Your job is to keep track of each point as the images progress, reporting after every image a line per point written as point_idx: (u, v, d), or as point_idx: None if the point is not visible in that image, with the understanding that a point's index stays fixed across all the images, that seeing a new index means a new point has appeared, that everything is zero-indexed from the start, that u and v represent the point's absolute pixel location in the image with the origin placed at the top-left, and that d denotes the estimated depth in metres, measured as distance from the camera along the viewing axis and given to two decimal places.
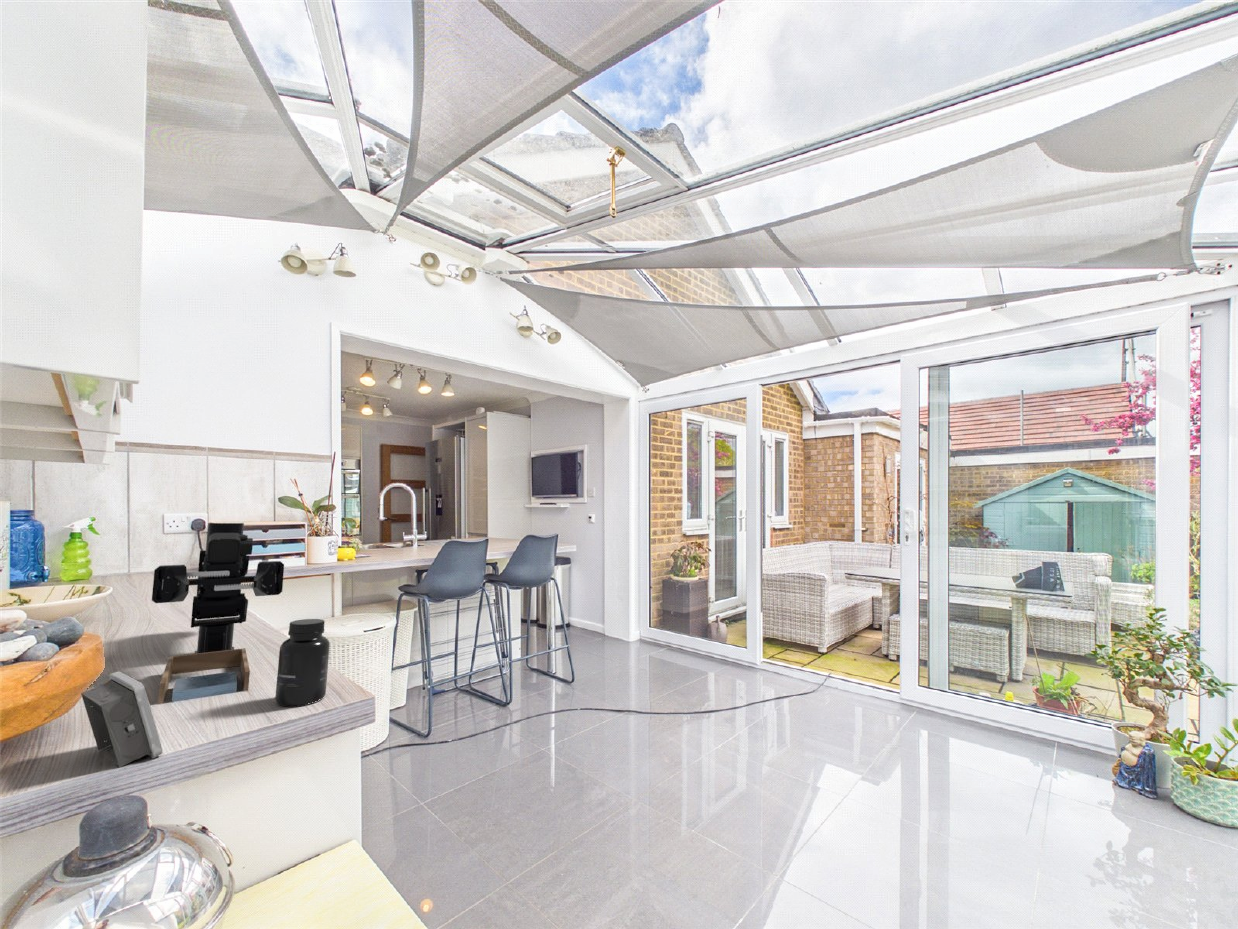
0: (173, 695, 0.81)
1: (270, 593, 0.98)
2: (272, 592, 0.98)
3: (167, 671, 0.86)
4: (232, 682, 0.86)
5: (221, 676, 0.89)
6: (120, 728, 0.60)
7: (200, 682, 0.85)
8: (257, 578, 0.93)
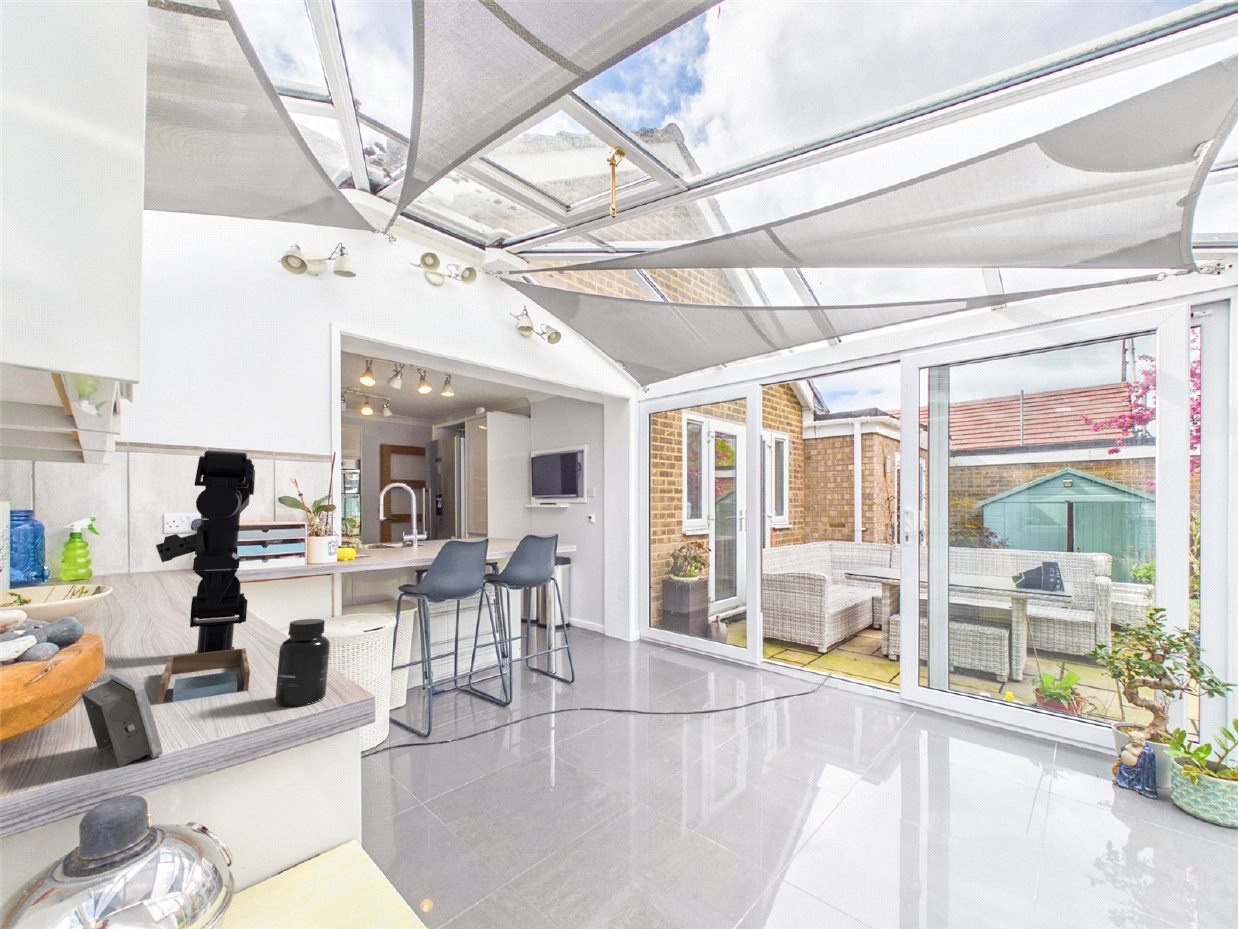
0: (174, 695, 0.81)
1: (234, 572, 0.93)
2: None
3: (167, 671, 0.86)
4: (232, 682, 0.86)
5: (221, 676, 0.89)
6: (120, 728, 0.60)
7: (200, 682, 0.85)
8: (207, 600, 0.92)
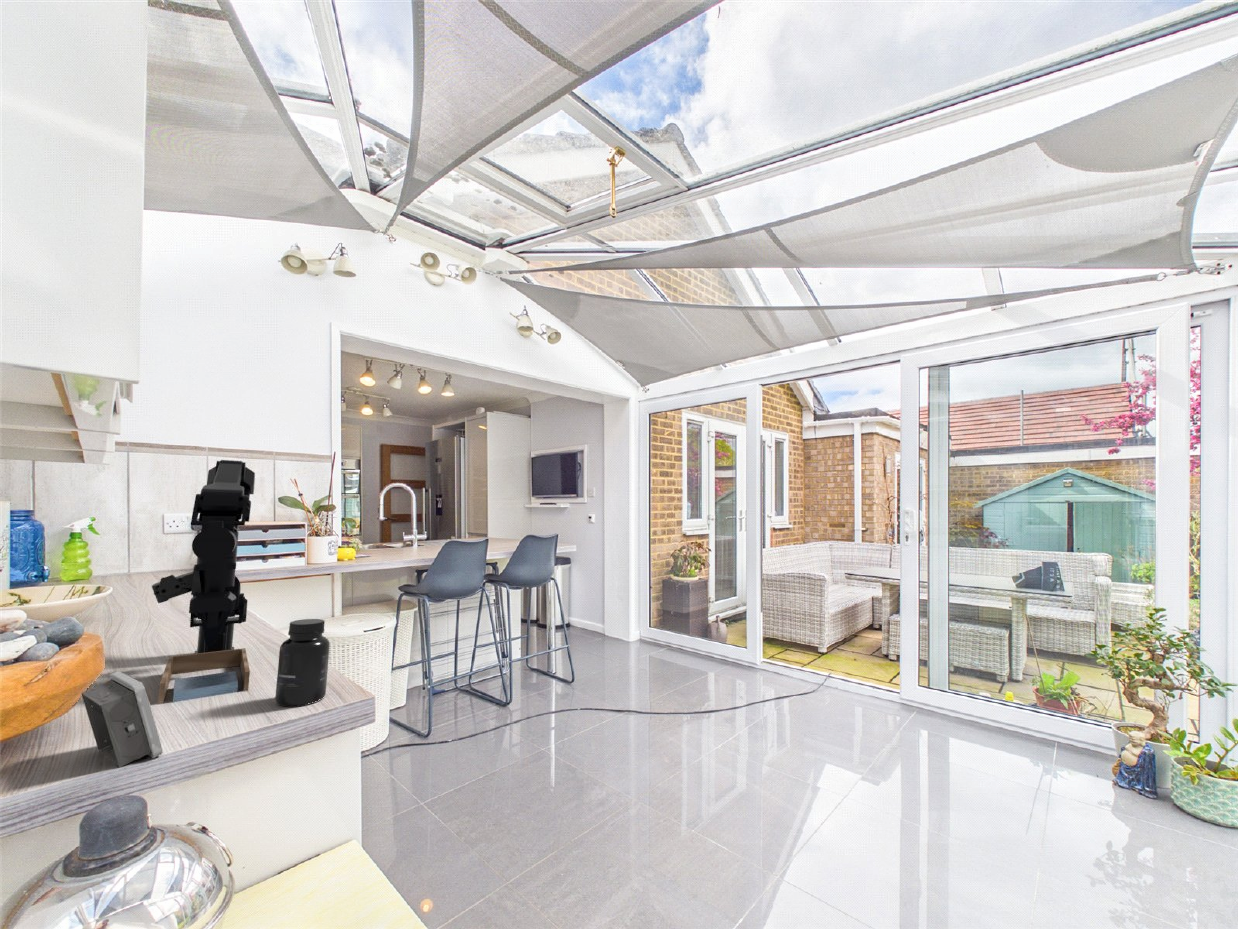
0: (174, 695, 0.81)
1: (230, 609, 0.94)
2: (229, 610, 0.94)
3: (167, 671, 0.86)
4: (233, 682, 0.86)
5: (221, 676, 0.89)
6: (120, 728, 0.60)
7: (200, 682, 0.85)
8: (204, 638, 0.94)
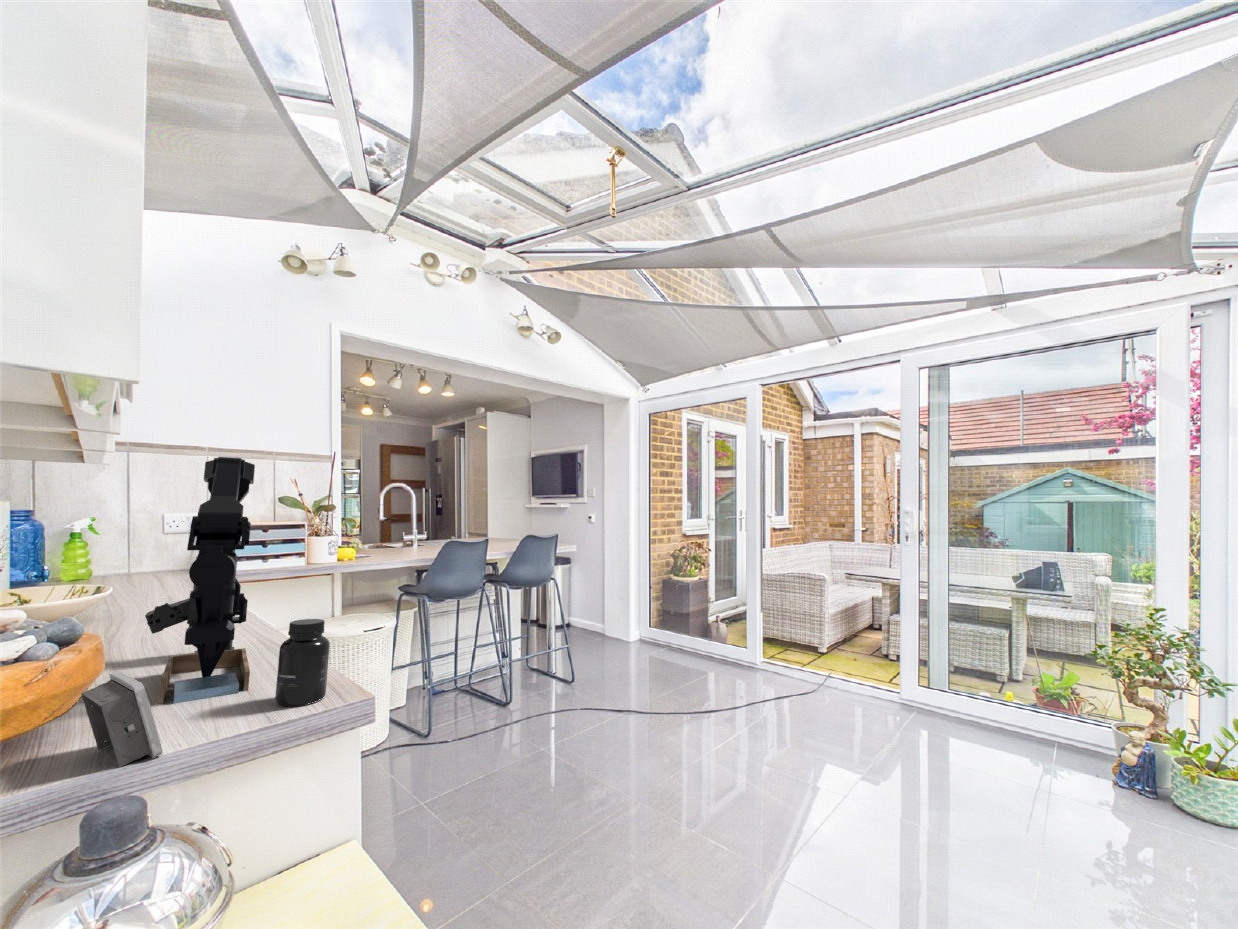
0: (175, 697, 0.80)
1: None
2: None
3: (167, 671, 0.86)
4: (234, 683, 0.85)
5: (221, 678, 0.88)
6: (120, 728, 0.60)
7: (201, 684, 0.85)
8: (201, 669, 0.88)
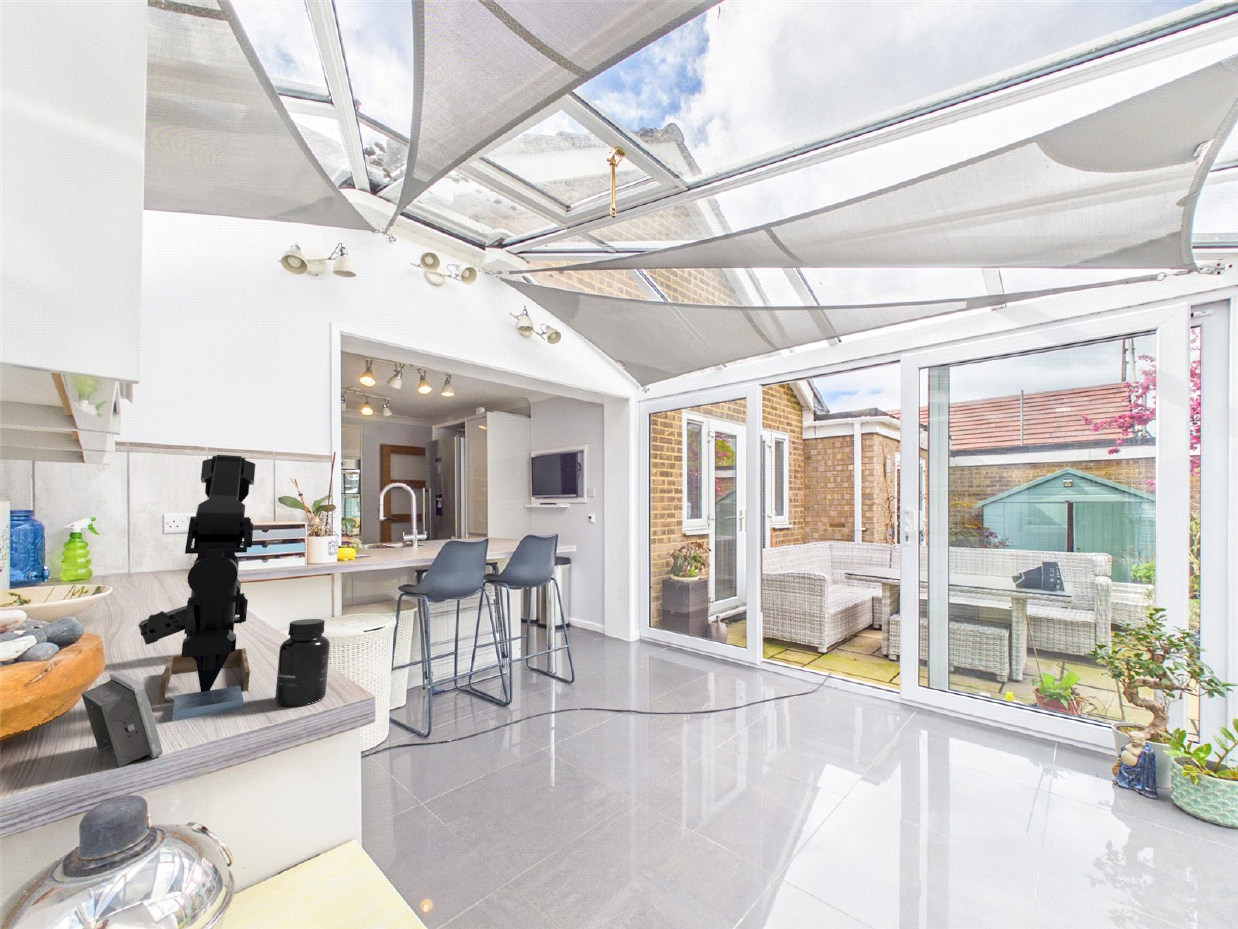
0: (173, 714, 0.73)
1: None
2: None
3: (167, 671, 0.86)
4: (238, 699, 0.78)
5: (225, 692, 0.81)
6: (120, 728, 0.60)
7: (202, 699, 0.78)
8: (199, 682, 0.81)
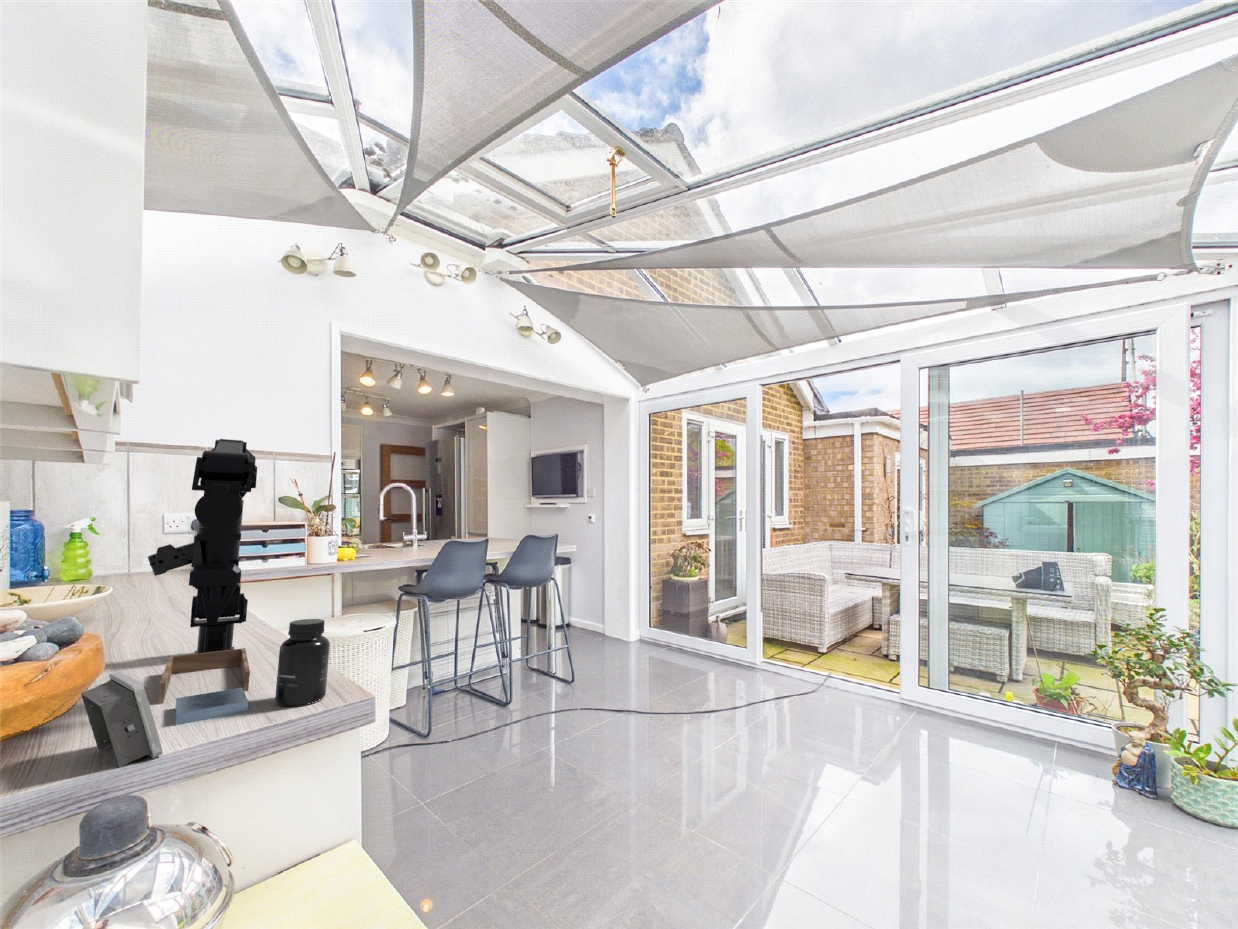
0: (177, 717, 0.72)
1: (235, 584, 0.85)
2: (234, 584, 0.85)
3: (167, 671, 0.86)
4: (242, 701, 0.77)
5: (228, 694, 0.80)
6: (120, 728, 0.60)
7: (206, 701, 0.77)
8: (205, 615, 0.85)
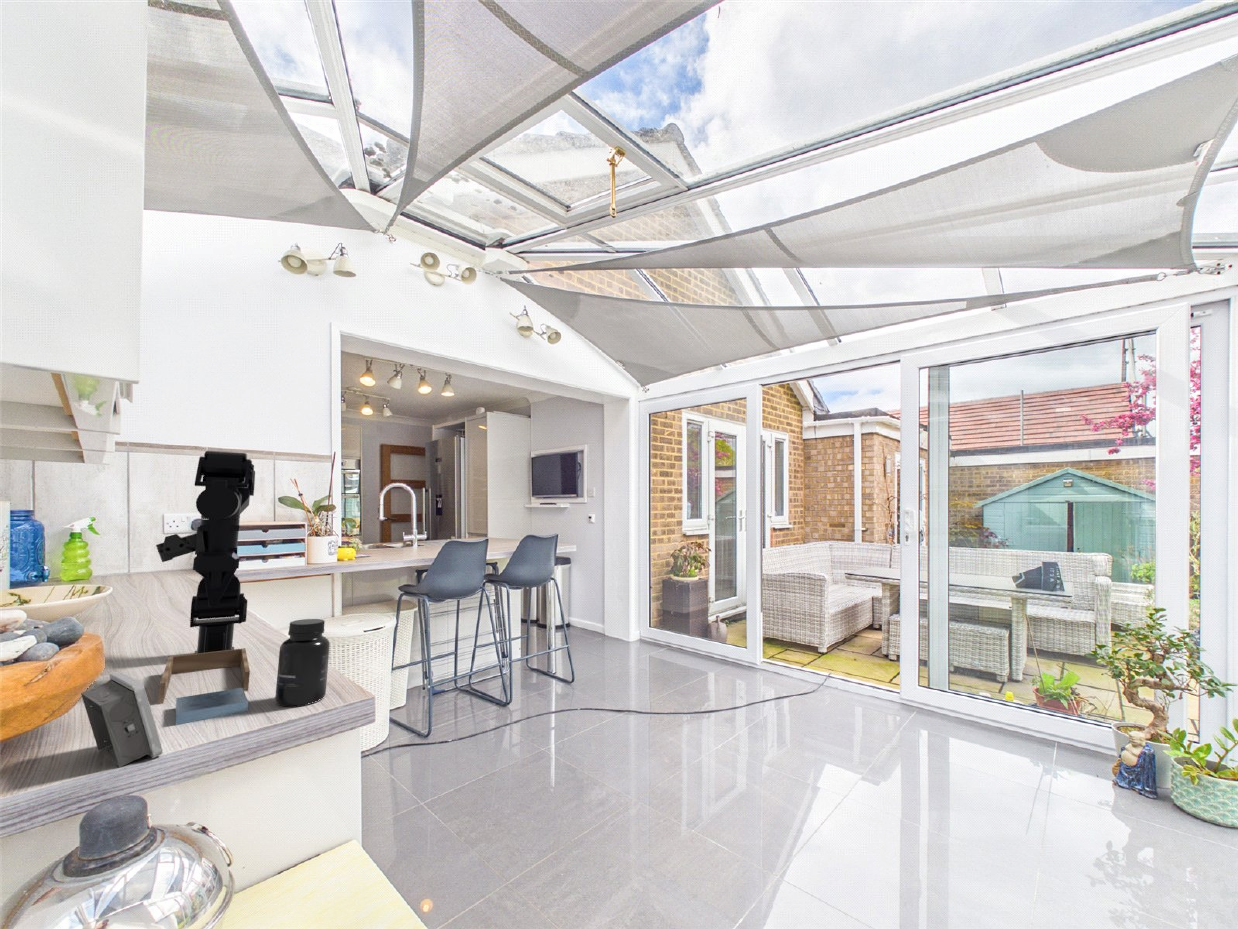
0: (177, 717, 0.72)
1: (234, 570, 0.95)
2: (233, 570, 0.95)
3: (167, 671, 0.86)
4: (242, 701, 0.77)
5: (228, 694, 0.80)
6: (120, 728, 0.60)
7: (206, 701, 0.77)
8: (207, 598, 0.95)
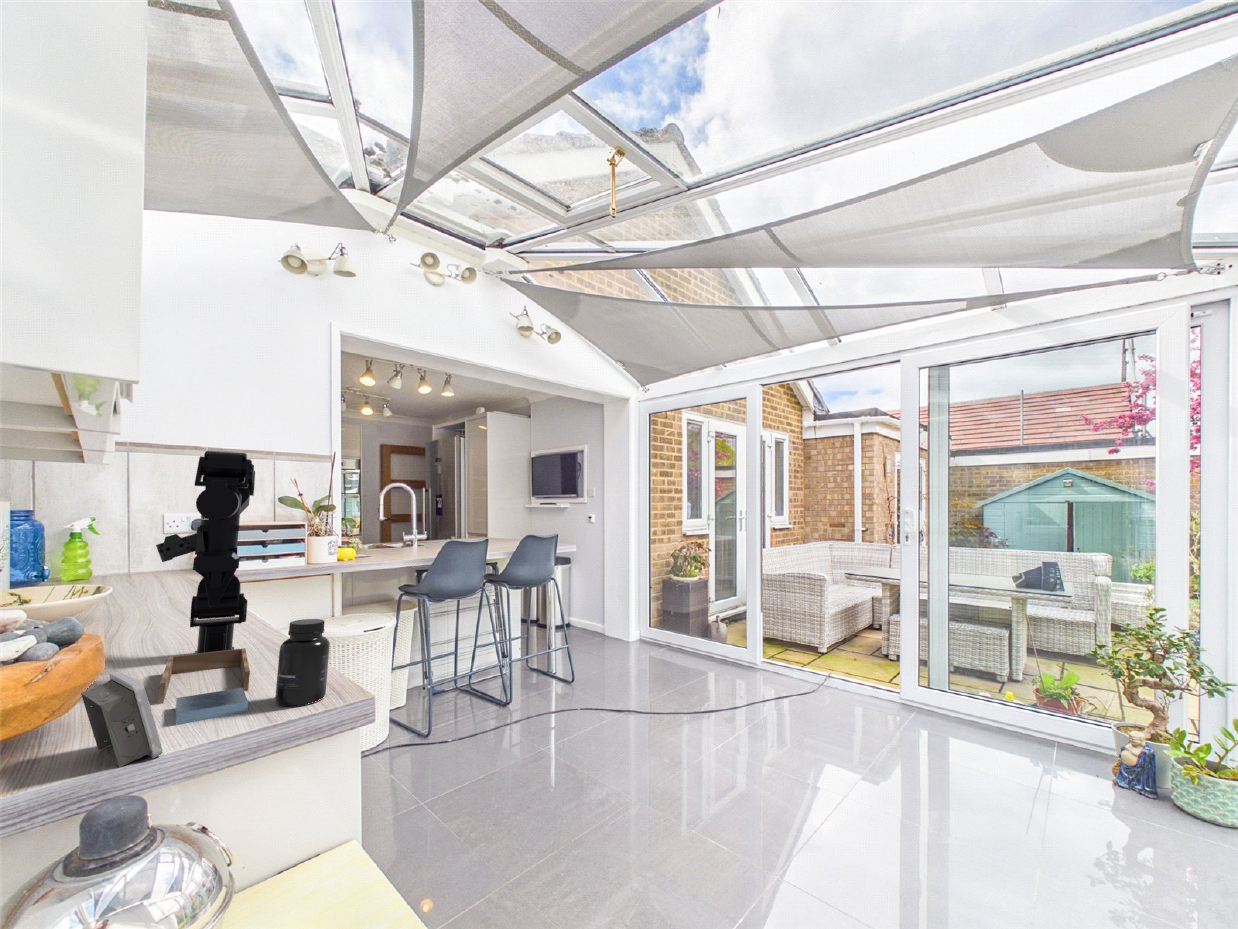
0: (177, 717, 0.72)
1: (234, 570, 0.95)
2: (233, 570, 0.95)
3: (167, 671, 0.86)
4: (242, 701, 0.77)
5: (228, 694, 0.80)
6: (120, 728, 0.60)
7: (206, 701, 0.77)
8: (207, 598, 0.95)
